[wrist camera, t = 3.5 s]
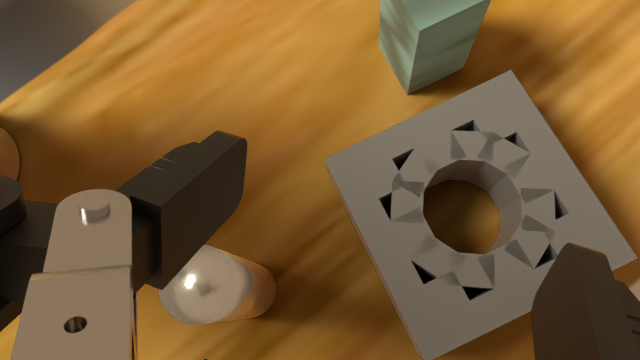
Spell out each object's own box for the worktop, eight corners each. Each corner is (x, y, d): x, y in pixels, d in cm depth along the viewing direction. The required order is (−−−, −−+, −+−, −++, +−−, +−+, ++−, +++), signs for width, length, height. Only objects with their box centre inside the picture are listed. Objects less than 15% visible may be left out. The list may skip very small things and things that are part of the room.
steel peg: (214, 276, 35) (148, 264, 24) (263, 253, 35) (218, 231, 24) (234, 327, 34) (174, 338, 23) (284, 303, 34) (247, 303, 23)
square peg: (378, 45, 38) (382, -30, 30) (432, 20, 38) (451, -63, 30) (407, 94, 37) (419, 30, 28) (463, 68, 37) (492, -4, 28)
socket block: (330, 178, 36) (324, 159, 31) (491, 100, 36) (511, 69, 31) (417, 354, 32) (426, 363, 27) (597, 265, 32) (637, 258, 27)
